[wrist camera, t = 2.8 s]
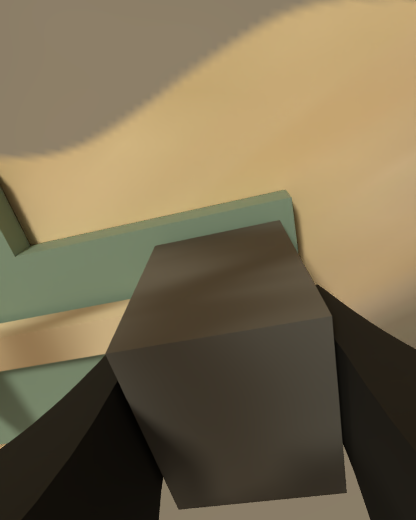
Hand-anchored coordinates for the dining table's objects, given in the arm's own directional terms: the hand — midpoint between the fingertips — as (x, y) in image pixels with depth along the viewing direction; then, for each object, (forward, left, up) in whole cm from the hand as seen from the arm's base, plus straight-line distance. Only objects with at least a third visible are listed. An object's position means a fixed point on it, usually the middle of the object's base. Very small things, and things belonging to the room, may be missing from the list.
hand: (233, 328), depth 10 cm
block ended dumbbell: (+4, -3, -2) cm, 5 cm away
